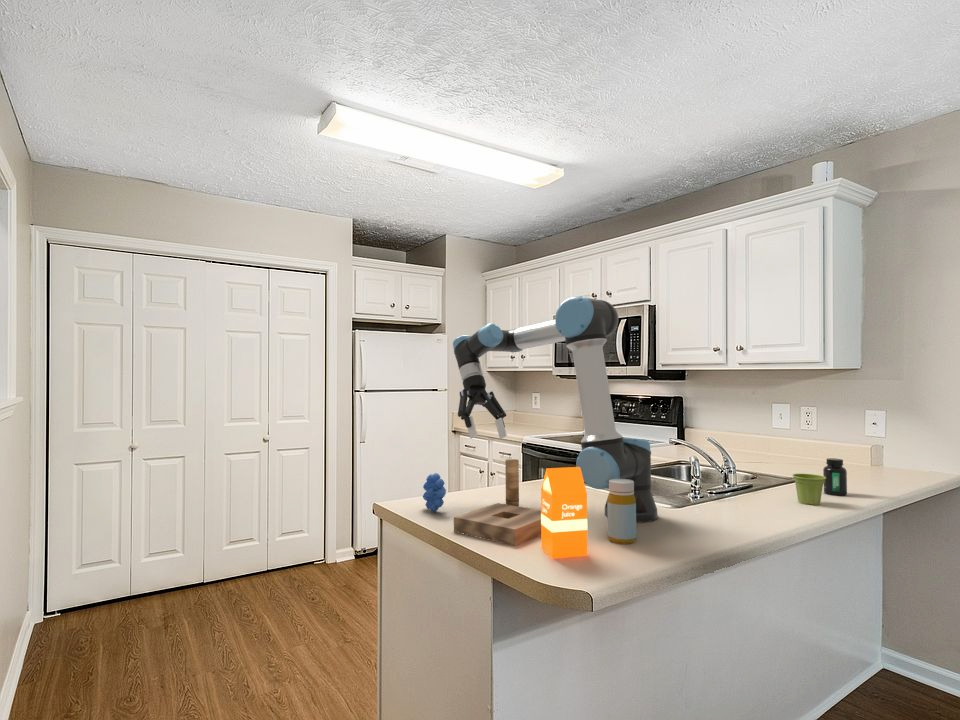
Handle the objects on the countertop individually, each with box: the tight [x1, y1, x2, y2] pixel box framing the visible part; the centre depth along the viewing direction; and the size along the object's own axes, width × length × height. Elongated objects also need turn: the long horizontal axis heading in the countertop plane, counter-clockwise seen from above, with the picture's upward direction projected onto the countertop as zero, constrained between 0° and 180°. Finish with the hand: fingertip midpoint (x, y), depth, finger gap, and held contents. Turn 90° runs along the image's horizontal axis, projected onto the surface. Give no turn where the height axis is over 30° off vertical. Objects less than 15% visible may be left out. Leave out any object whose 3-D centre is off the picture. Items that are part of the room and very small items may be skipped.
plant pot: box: [791, 473, 826, 506], centre depth 183 cm, size 9×9×9 cm
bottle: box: [606, 479, 637, 545], centre depth 144 cm, size 7×7×15 cm
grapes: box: [422, 472, 447, 513], centre depth 175 cm, size 12×7×12 cm, turn 34°
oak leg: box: [505, 458, 520, 507], centre depth 172 cm, size 4×4×16 cm
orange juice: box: [540, 466, 588, 560], centre depth 135 cm, size 8×9×20 cm
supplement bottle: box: [822, 458, 848, 497], centre depth 195 cm, size 7×7×12 cm
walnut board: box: [453, 502, 541, 547], centre depth 154 cm, size 20×20×4 cm
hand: (489, 437), depth 184 cm, fingers open, 13 cm apart
